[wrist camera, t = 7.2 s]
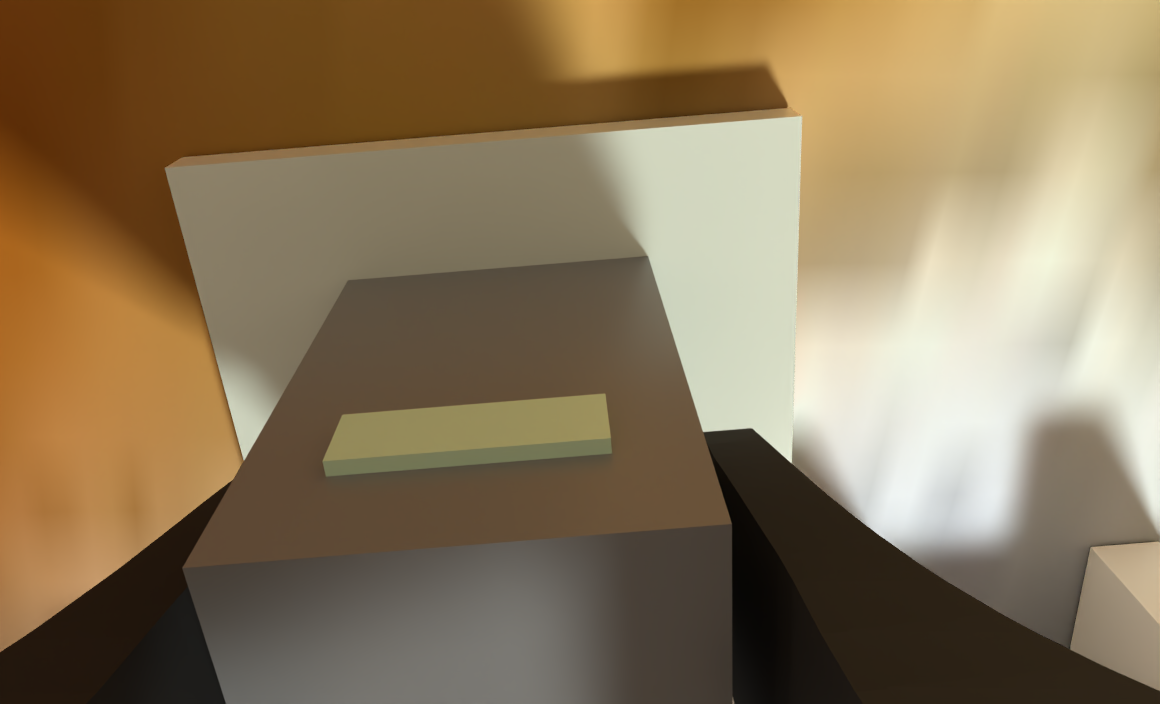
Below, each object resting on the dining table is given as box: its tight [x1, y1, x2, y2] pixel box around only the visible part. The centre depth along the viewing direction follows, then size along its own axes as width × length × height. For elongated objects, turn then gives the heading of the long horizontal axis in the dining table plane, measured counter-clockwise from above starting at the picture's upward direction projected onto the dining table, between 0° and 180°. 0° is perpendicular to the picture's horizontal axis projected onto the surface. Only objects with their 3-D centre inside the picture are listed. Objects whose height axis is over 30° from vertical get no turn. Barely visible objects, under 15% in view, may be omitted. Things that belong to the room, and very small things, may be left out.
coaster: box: [165, 108, 802, 463], centre depth 13 cm, size 8×8×1 cm
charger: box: [182, 256, 732, 704], centre depth 11 cm, size 8×4×6 cm, turn 4°
